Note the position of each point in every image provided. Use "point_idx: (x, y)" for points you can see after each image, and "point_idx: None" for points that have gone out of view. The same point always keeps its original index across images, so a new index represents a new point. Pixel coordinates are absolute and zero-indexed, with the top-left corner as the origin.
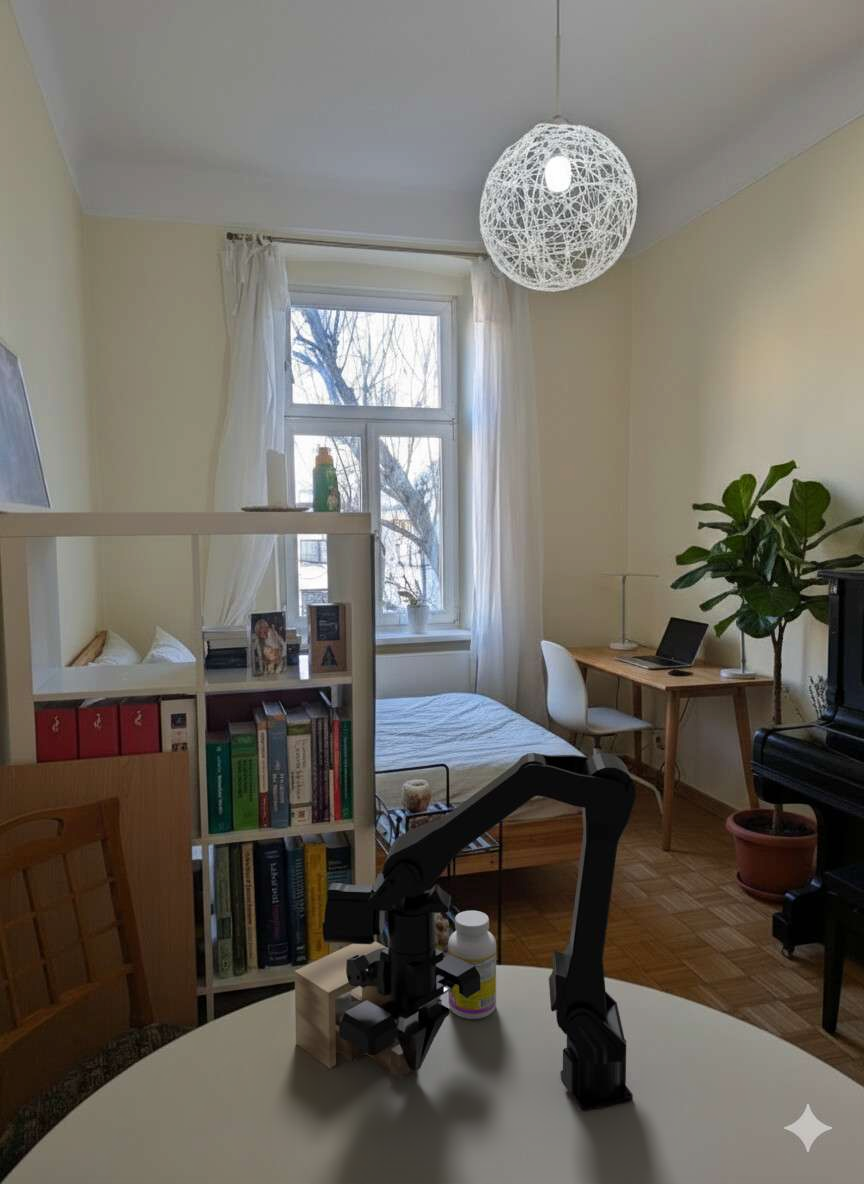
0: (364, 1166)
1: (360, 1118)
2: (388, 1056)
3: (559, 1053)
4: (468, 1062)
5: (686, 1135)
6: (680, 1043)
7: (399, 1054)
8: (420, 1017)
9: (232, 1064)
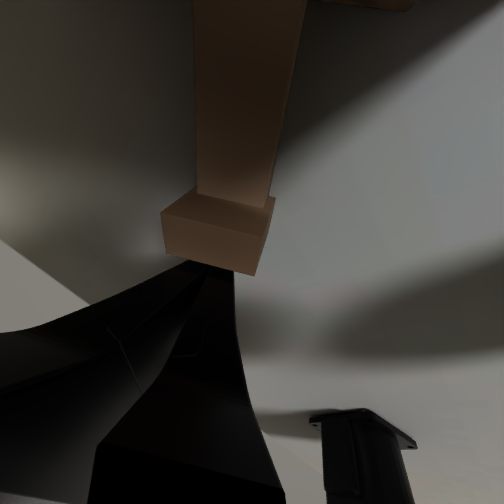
0: (48, 267)
1: (69, 209)
2: (209, 158)
3: (436, 411)
4: (347, 315)
5: (321, 451)
6: (500, 484)
7: (169, 251)
8: (147, 478)
9: None
